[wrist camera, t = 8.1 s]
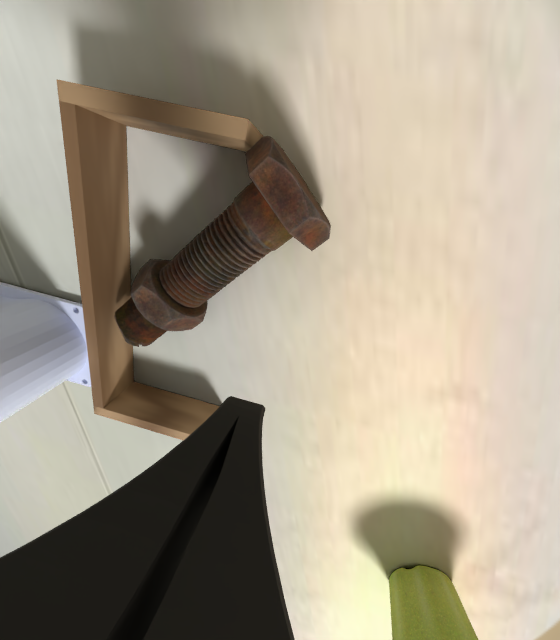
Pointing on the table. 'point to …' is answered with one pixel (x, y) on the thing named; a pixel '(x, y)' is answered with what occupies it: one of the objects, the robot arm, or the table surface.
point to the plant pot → (426, 606)
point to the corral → (124, 238)
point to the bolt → (224, 248)
